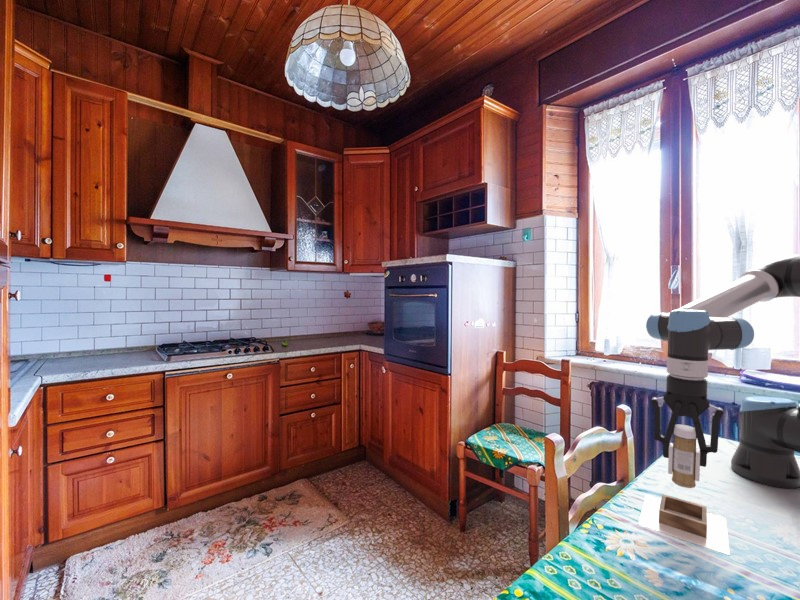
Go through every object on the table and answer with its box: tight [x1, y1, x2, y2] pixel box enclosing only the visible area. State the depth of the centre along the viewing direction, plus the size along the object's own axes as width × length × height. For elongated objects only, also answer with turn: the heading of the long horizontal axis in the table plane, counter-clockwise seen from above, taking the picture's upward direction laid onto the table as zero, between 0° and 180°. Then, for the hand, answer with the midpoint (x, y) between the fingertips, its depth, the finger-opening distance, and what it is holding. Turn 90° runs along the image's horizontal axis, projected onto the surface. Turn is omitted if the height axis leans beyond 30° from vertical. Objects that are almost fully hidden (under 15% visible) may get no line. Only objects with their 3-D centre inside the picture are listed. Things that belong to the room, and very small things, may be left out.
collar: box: [659, 493, 708, 538], centre depth 88 cm, size 9×9×3 cm
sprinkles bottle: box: [671, 423, 698, 489], centre depth 87 cm, size 5×5×14 cm
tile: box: [637, 494, 731, 556], centre depth 88 cm, size 16×16×1 cm
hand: (683, 474), depth 88 cm, fingers closed on sprinkles bottle, 4 cm apart
